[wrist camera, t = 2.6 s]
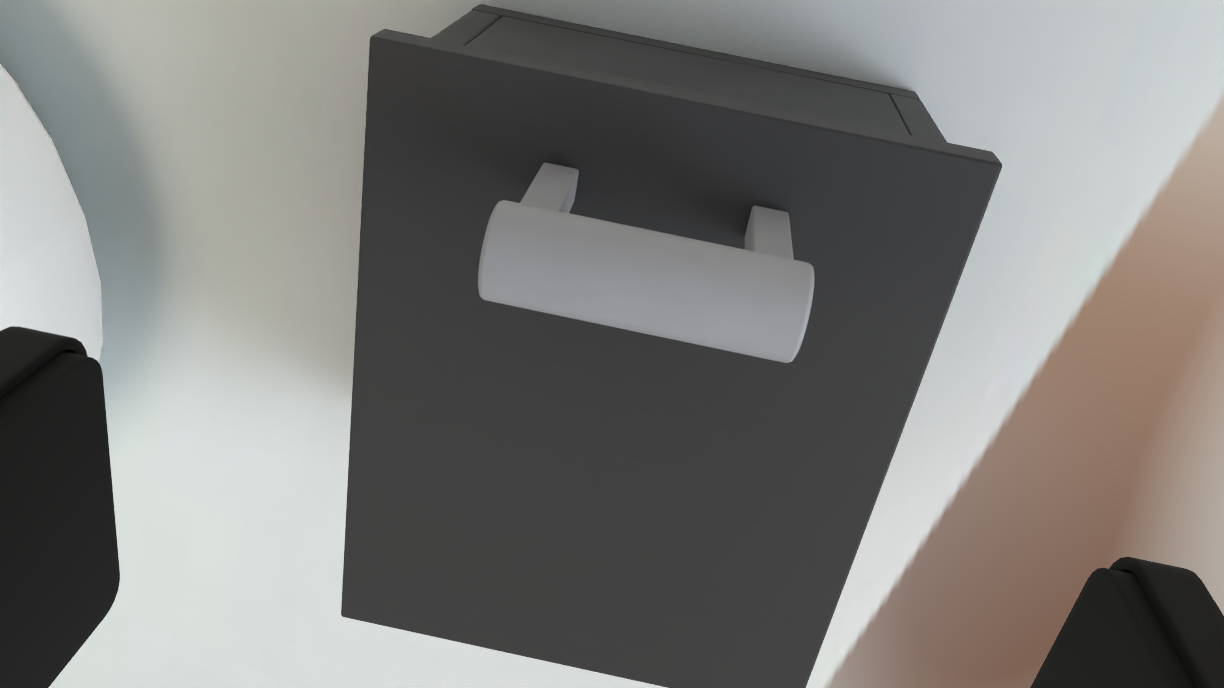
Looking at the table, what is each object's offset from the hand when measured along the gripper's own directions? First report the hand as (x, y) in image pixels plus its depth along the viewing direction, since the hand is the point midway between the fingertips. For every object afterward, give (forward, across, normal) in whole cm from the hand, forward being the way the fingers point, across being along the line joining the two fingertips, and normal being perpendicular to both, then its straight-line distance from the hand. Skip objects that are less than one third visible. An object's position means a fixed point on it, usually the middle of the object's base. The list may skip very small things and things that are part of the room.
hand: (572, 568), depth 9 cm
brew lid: (+11, 0, +5) cm, 12 cm away
